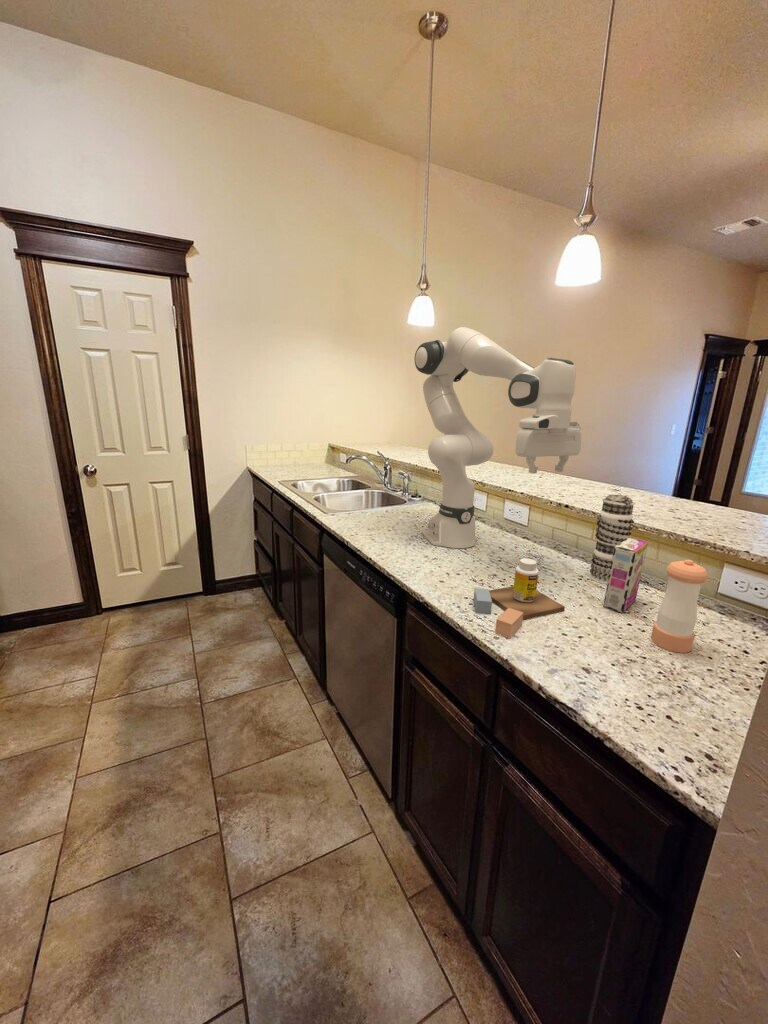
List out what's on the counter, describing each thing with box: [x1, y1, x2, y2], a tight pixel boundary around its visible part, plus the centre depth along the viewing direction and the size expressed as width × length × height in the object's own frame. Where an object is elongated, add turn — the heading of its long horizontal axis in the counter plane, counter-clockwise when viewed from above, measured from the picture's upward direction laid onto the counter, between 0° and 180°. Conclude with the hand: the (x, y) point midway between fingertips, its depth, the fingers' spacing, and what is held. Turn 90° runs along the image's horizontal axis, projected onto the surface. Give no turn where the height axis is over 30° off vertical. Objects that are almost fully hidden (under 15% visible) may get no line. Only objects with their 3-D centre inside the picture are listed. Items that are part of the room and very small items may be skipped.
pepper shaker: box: [650, 559, 709, 654], centre depth 86 cm, size 7×7×19 cm
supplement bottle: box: [513, 557, 540, 602], centre depth 104 cm, size 6×6×10 cm
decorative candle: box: [588, 494, 636, 585], centre depth 118 cm, size 9×9×25 cm
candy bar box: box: [602, 537, 649, 614], centre depth 104 cm, size 11×5×16 cm, turn 135°
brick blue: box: [473, 587, 493, 615], centre depth 103 cm, size 7×4×4 cm, turn 173°
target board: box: [489, 585, 566, 621], centre depth 105 cm, size 14×14×1 cm
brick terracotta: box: [494, 608, 524, 639], centre depth 93 cm, size 7×4×4 cm, turn 142°
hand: (545, 472), depth 115 cm, fingers open, 8 cm apart
